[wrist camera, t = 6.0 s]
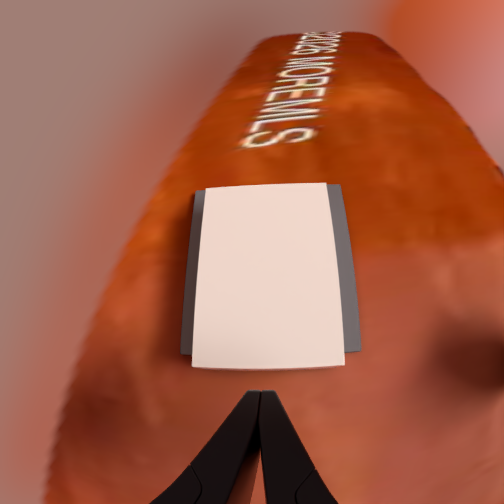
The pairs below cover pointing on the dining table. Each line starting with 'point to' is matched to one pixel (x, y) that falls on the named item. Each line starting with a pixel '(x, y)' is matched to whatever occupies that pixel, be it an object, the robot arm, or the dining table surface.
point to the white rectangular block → (267, 280)
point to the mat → (343, 262)
